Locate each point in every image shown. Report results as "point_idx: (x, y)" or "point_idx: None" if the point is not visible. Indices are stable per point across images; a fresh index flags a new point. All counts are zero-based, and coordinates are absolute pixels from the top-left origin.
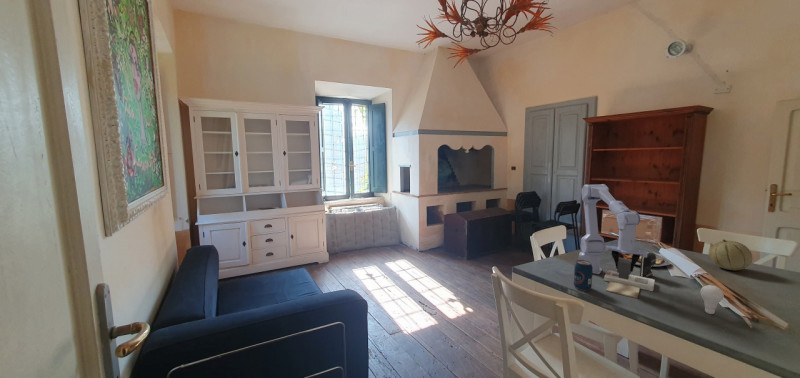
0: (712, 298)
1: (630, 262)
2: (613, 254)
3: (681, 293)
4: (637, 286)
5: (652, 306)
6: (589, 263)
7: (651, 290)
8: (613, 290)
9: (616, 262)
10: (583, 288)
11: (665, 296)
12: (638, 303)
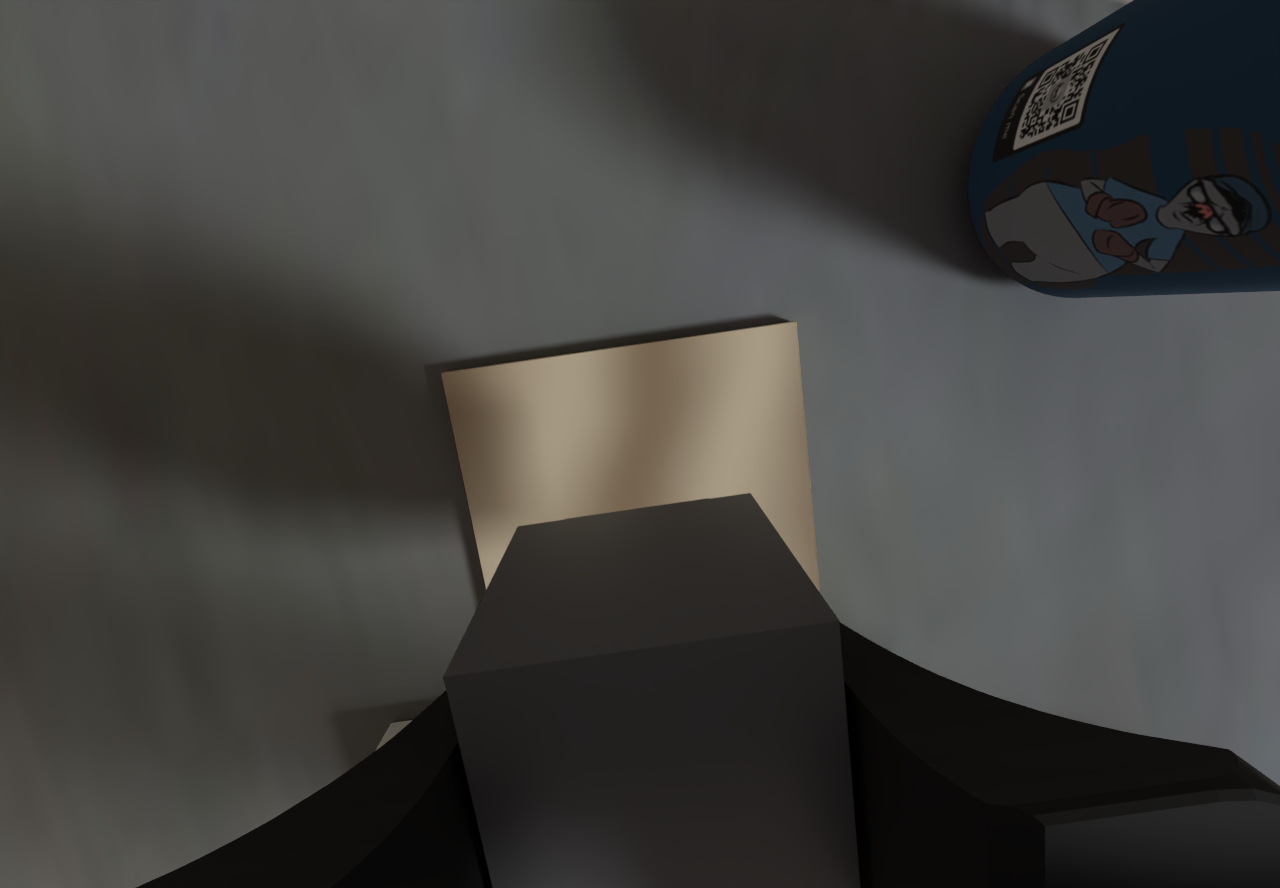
0: None
1: (493, 799)
2: (1219, 777)
3: None
4: None
5: (250, 259)
6: None
7: (402, 725)
8: (715, 369)
9: (865, 660)
10: (1050, 51)
11: (256, 677)
12: (388, 222)
